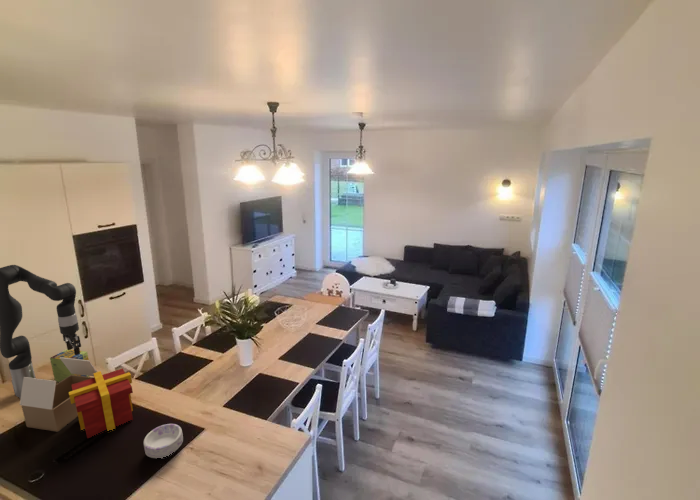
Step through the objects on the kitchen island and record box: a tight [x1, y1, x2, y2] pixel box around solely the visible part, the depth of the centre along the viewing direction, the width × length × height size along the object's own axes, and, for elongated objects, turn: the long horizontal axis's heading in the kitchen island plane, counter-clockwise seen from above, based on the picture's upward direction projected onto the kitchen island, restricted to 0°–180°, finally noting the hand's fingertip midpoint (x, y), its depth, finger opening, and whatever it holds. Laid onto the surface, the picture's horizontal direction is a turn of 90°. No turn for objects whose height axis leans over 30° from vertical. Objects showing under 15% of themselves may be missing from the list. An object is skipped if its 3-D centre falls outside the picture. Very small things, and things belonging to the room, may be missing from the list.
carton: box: [20, 375, 94, 433], centre depth 186 cm, size 18×26×12 cm
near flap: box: [19, 377, 57, 409], centre depth 172 cm, size 18×13×1 cm
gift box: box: [69, 368, 134, 439], centre depth 179 cm, size 25×25×20 cm
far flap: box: [60, 357, 98, 377], centre depth 193 cm, size 18×13×1 cm
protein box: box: [49, 348, 90, 383], centre depth 214 cm, size 10×15×16 cm
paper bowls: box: [143, 423, 184, 459], centre depth 161 cm, size 15×15×8 cm
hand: (73, 351), depth 186 cm, fingers open, 8 cm apart
